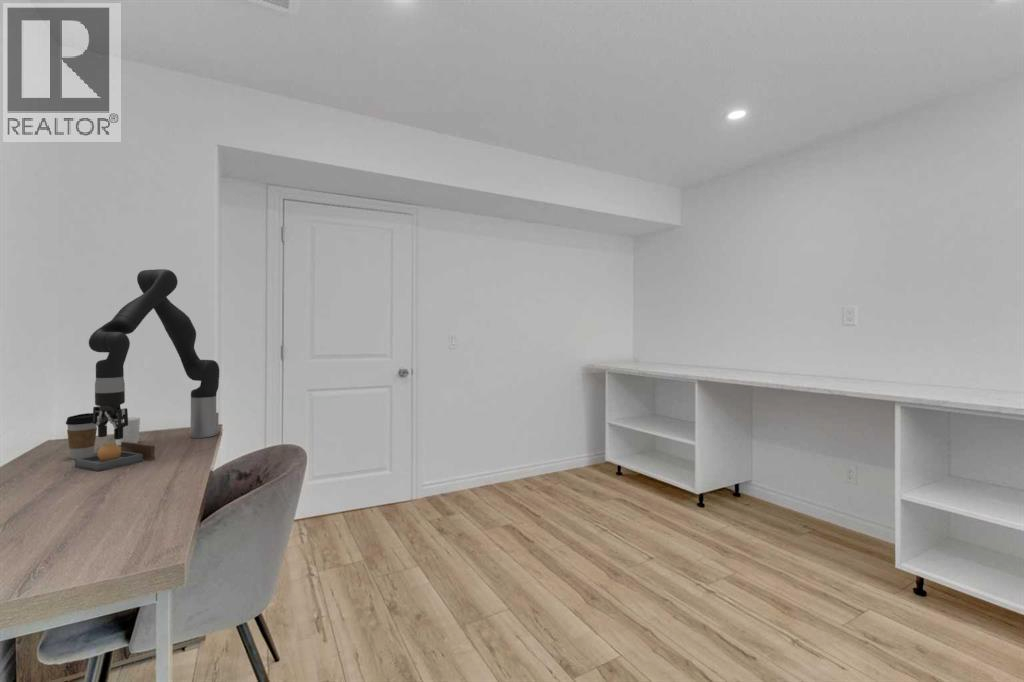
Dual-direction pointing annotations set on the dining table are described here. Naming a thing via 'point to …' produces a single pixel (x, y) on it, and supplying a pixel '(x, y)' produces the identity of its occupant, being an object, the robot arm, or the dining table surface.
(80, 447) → the coffee cup
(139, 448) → the fence
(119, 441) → the white cup
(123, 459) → the tray
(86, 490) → the dining table surface
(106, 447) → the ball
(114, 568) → the dining table surface
